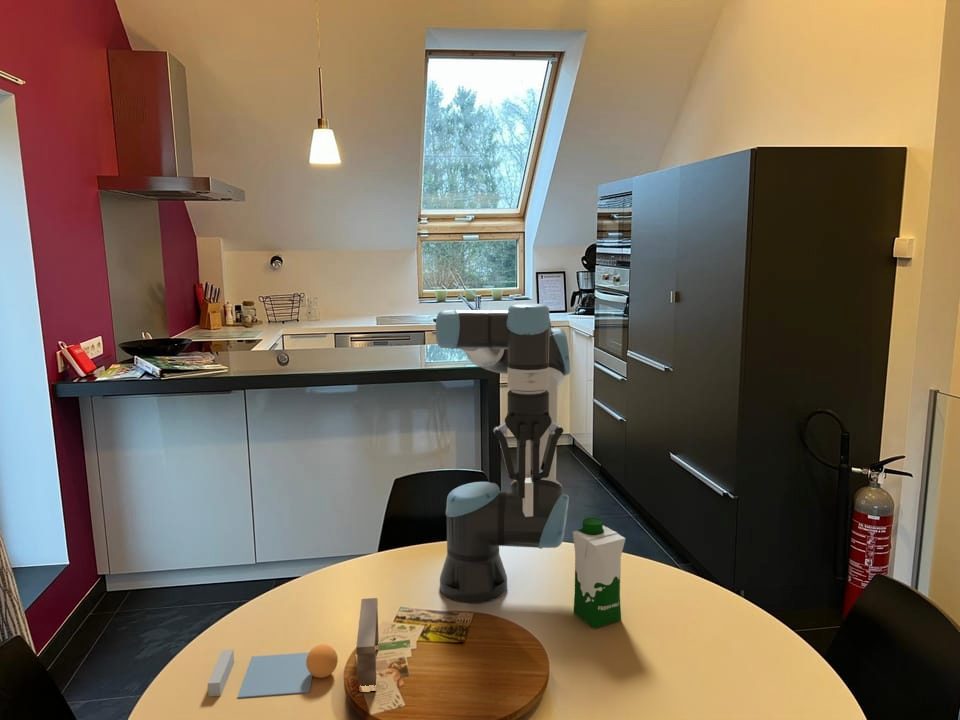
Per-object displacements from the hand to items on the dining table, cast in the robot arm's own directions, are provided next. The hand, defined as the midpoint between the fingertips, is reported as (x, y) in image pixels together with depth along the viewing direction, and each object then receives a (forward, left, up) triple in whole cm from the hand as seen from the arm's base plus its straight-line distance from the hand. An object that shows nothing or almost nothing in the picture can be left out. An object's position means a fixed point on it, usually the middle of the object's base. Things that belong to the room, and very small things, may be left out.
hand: (527, 513), depth 131 cm
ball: (+5, -38, -24) cm, 45 cm away
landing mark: (+4, -46, -26) cm, 53 cm away
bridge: (+4, -30, -26) cm, 40 cm away
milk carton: (-8, +16, -27) cm, 32 cm away
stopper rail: (+4, -56, -26) cm, 62 cm away
